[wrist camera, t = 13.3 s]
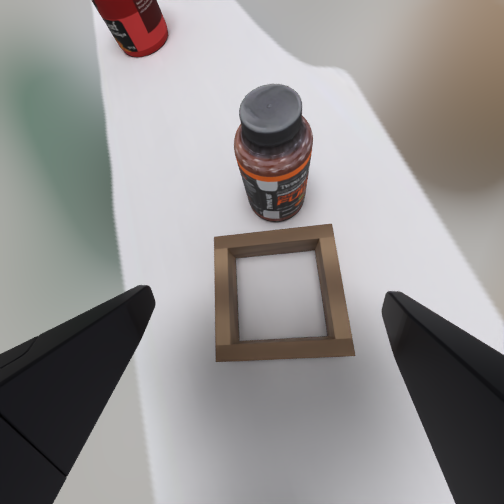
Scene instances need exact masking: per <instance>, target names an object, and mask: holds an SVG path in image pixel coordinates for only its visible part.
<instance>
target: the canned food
mask: <svg viewBox="0 0 504 504" xmlns="http://www.w3.org/2000/svg"><path fill="white" fill-rule="evenodd" d="M92 2H93V4H94V5H95V7H96V9H97V10H98V12H99V13H100V15H101V17H102V18H103V20H104V22H105V23H106V25H107V26H108V28H109V30H110V31H111V33H112V35H113V36H114V38H115V39H116V41H117V43H118V44H119V46H120V47H121V48H122V50H123V51H124V52H125V53H126V54H128V55H130V56H134V57H142V56H146V55H149V54H152V53H153V52H155V51H157V50H158V49H159V48H161V47H162V46H163V44H164V43H165V41H166V39H167V36H168V31H167V26H166V22H165V20H164V18H163V15H162V13H161V10H160V8H159V5H158V3H157V0H92Z"/></svg>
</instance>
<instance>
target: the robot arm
mask: <svg viewBox="0 0 504 504" xmlns="http://www.w3.org/2000/svg"><path fill="white" fill-rule="evenodd" d="M154 308H155V299H154V296H153V293H152V290H151V288H150V286H148V285H138V286H136V287H134V288H132V289H130V290H128V291H126V292H124V293H122V294H120V295H118V296H116V297H114V298H112V299H110V300H108V301H106V302H104V303H102V304H100V305H98V306H96V307H94V308H92V309H90V310H88V311H86V312H84V313H82V314H80V315H78V316H77V317H74V318H72V319H70V320H68V321H66V322H65V323H62V324H60V325H58V326H56V327H55V328H52V329H50V330H48V331H46V332H44V333H42V334H40V335H39V336H37V337H34V338H32V339H30V340H28V341H26V342H24V343H22V344H21V345H18V346H16V347H14V348H12V349H10V350H8V351H6V352H4V353H2V354H0V504H53V502H54V500H55V499H56V497H57V495H58V493H59V491H60V489H61V487H62V486H63V483H64V482H65V480H66V476H68V474H69V472H70V470H71V468H72V467H73V465H74V463H75V461H76V459H77V458H78V456H79V454H80V452H81V450H82V448H83V446H84V445H85V443H86V441H87V439H88V437H89V435H90V433H91V432H92V430H93V428H94V426H95V424H96V422H97V420H98V418H99V417H100V415H101V413H102V411H103V409H104V407H105V406H106V404H107V402H108V400H109V398H110V396H111V395H112V393H113V391H114V389H115V387H116V385H117V384H118V382H119V380H120V378H121V376H122V374H123V372H124V371H125V369H126V367H127V365H128V363H129V361H130V359H131V358H132V356H133V354H134V352H135V350H136V348H137V346H138V345H139V343H140V341H141V338H142V336H143V334H144V332H145V329H146V327H147V324H148V322H149V320H150V317H151V315H152V313H153V310H154ZM382 317H383V320H384V324H385V327H386V331H387V334H388V338H389V341H390V345H391V348H392V351H393V354H394V357H395V360H396V363H397V365H398V367H399V370H400V372H401V375H402V377H403V379H404V382H405V384H406V386H407V389H408V391H409V394H410V396H411V398H412V401H413V403H414V406H415V408H416V410H417V413H418V415H419V418H420V420H421V422H422V425H423V427H424V429H425V432H426V434H427V437H428V439H429V441H430V444H431V446H432V449H433V451H434V453H435V456H436V458H437V460H438V463H439V465H440V468H441V470H442V472H443V475H444V477H445V480H446V482H447V484H448V487H449V489H450V491H451V494H452V496H453V499H454V501H455V503H456V504H504V355H503V354H501V353H500V352H498V351H496V350H495V349H493V348H491V347H490V346H488V345H487V344H485V343H483V342H482V341H480V340H478V339H477V338H475V337H474V336H472V335H470V334H469V333H467V332H465V331H464V330H462V329H461V328H459V327H457V326H456V325H454V324H452V323H451V322H449V321H448V320H446V319H444V318H443V317H441V316H439V315H438V314H436V313H434V312H433V311H431V310H430V309H428V308H426V307H425V306H423V305H421V304H420V303H418V302H417V301H415V300H413V299H412V298H410V297H408V296H407V295H405V294H404V293H402V292H399V291H388V292H387V293H386V295H385V299H384V303H383V307H382Z"/></svg>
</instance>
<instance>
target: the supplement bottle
mask: <svg viewBox="0 0 504 504" xmlns="http://www.w3.org/2000/svg"><path fill="white" fill-rule="evenodd" d="M239 116H240V120H241V124H240V126H239V128H238V129H237V132H236V135H235V139H234V150H235V156H236V159H237V163H238V166H239V170H240V173H241V176H242V180H243V183H244V186H245V189H246V193H247V196H248V200H249V202H250V205H251V207H252V209H253V211H254V212H255V213H256V214H257V215H258V216H260V217H261V218H263V219H266V220H269V221H283V220H286V219H288V218H290V217H292V216H293V215H295V214H296V213H297V212H298V211H299V210H300V208H301V206H302V204H303V202H304V198H305V193H306V186H307V179H308V172H309V166H310V159H311V152H312V144H313V135H312V131H311V128H310V125H309V123H308V122H307V120H306V119H305V118H304V117H303V116H302V101H301V98H300V96H299V95H298V93H297V92H296V91H295V90H293V89H292V88H290V87H288V86H285V85H282V84H269V85H263V86H260V87H258V88H256V89H254V90H252V91H251V92H250V93H248V94H247V95H246V96H245V98H244V99H243V101H242V103H241V105H240V110H239Z"/></svg>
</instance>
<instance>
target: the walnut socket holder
mask: <svg viewBox="0 0 504 504" xmlns="http://www.w3.org/2000/svg"><path fill="white" fill-rule="evenodd" d="M314 250H315V254H316V261H317V268H318V274H319V281H320V288H321V295H322V301H323V308H324V315H325V322H326V328H327V335H328V336H322V337H304V338H285V339H267V340H249V341H239V324H238V300H237V276H236V258H243V257H253V256H263V255H273V254H283V253H293V252H303V251H314ZM214 266H215V342H216V362H228V361H251V360H274V359H297V358H319V357H342V356H355V351H354V345H353V340H352V334H351V328H350V323H349V317H348V312H347V306H346V300H345V295H344V289H343V283H342V278H341V272H340V267H339V261H338V255H337V250H336V244H335V238H334V233H333V227H332V224H324V225H315V226H307V227H298V228H289V229H280V230H271V231H262V232H253V233H244V234H235V235H227V236H218V237H214Z"/></svg>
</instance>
